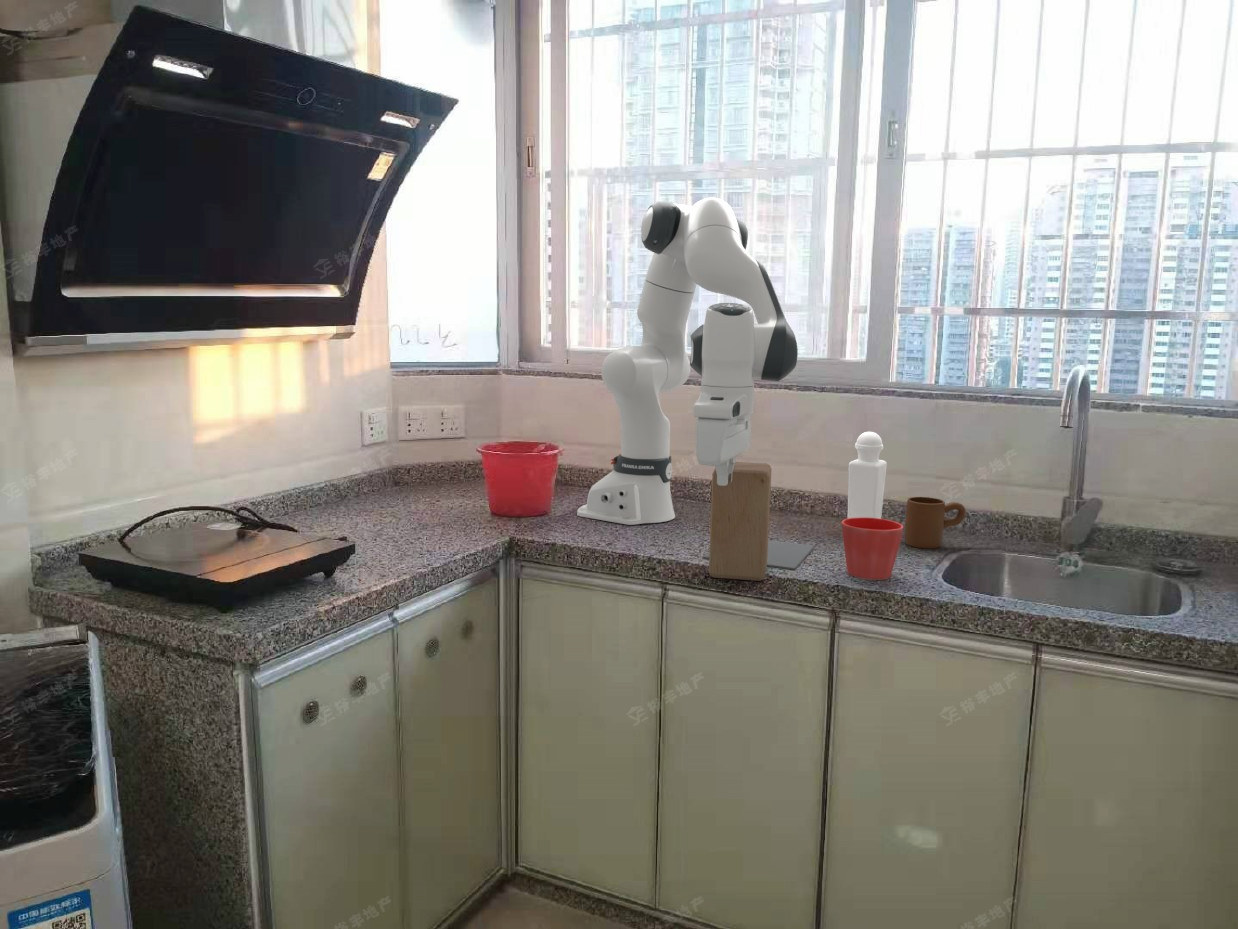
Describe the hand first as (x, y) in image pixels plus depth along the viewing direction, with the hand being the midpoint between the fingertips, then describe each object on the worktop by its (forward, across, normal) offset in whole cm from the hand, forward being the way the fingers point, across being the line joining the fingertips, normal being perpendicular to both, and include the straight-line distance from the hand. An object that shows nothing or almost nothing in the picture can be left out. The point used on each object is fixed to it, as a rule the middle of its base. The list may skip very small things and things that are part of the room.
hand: (724, 484), depth 160 cm
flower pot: (+19, -22, +22) cm, 36 cm away
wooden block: (+19, -12, 0) cm, 22 cm away
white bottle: (+19, -55, +16) cm, 60 cm away
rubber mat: (+19, -27, 0) cm, 33 cm away
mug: (+19, -50, +31) cm, 62 cm away
